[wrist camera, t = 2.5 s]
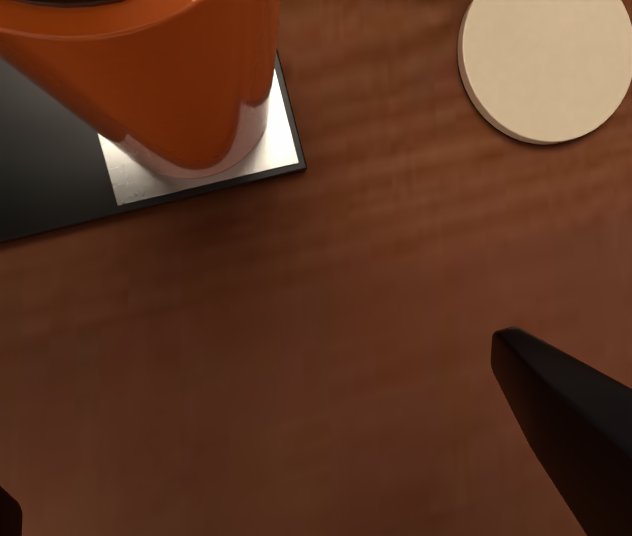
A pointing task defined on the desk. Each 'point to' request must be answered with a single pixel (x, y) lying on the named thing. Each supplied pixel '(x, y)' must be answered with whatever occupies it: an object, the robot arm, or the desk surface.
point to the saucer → (545, 65)
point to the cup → (153, 73)
